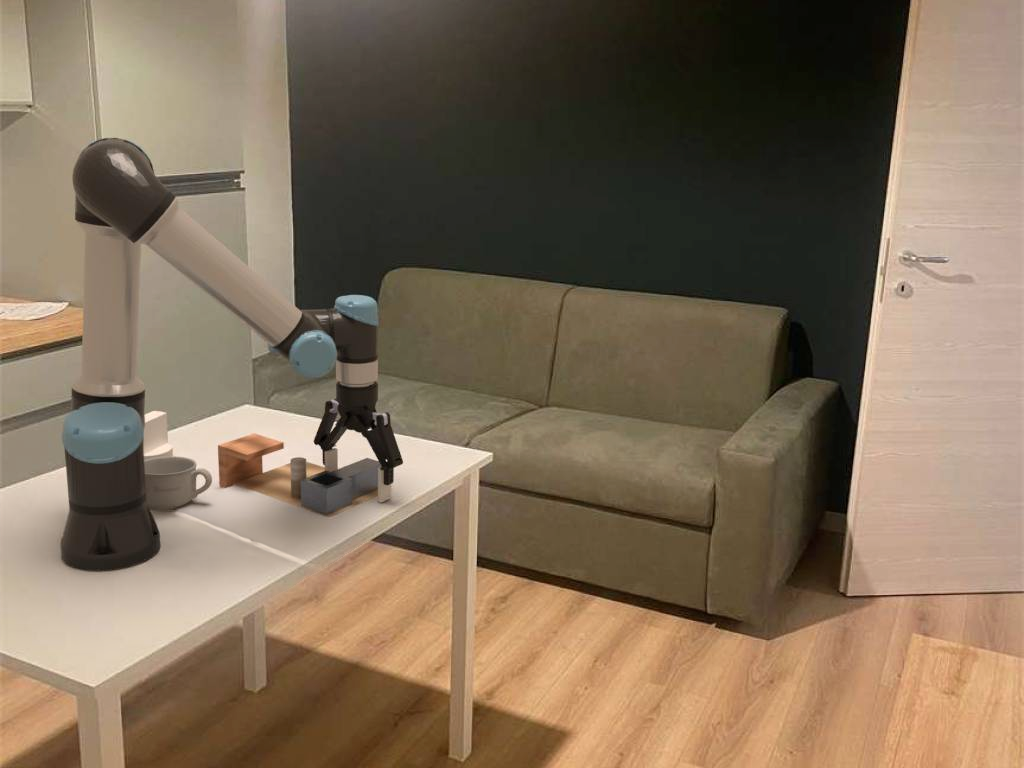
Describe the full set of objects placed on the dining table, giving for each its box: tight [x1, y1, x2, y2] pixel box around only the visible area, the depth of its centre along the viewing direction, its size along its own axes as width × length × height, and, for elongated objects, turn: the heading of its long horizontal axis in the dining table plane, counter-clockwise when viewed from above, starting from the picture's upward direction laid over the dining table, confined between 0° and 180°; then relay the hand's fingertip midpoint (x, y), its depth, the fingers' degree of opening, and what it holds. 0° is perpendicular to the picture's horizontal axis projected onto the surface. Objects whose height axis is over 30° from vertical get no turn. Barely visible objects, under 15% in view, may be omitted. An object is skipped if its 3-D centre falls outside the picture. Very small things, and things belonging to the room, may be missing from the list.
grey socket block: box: [301, 457, 382, 515], centre depth 193 cm, size 16×6×5 cm, turn 146°
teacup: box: [144, 455, 213, 512], centre depth 188 cm, size 14×11×8 cm
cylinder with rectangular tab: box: [144, 410, 174, 460], centre depth 201 cm, size 9×9×12 cm
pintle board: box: [217, 433, 393, 518], centre depth 198 cm, size 18×28×8 cm, turn 55°
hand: (357, 491), depth 197 cm, fingers open, 13 cm apart
